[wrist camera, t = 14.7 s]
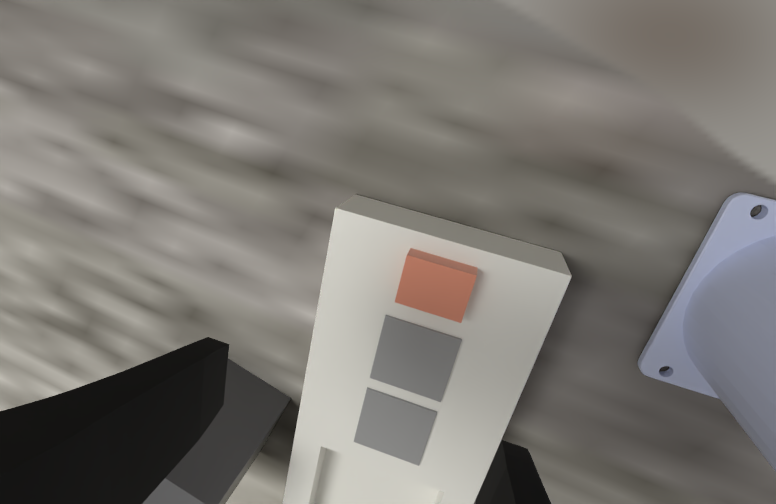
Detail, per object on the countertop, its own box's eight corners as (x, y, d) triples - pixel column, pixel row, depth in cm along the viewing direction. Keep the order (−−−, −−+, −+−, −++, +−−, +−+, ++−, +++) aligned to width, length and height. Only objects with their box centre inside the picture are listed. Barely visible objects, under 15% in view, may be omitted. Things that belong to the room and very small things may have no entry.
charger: (291, 398, 23) (214, 509, 17) (260, 451, 25) (180, 569, 19) (215, 350, 24) (111, 443, 17) (190, 407, 26) (88, 509, 19)
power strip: (561, 252, 17) (576, 285, 14) (427, 578, 26) (417, 644, 22) (355, 194, 19) (328, 213, 15) (291, 523, 27) (264, 578, 24)
